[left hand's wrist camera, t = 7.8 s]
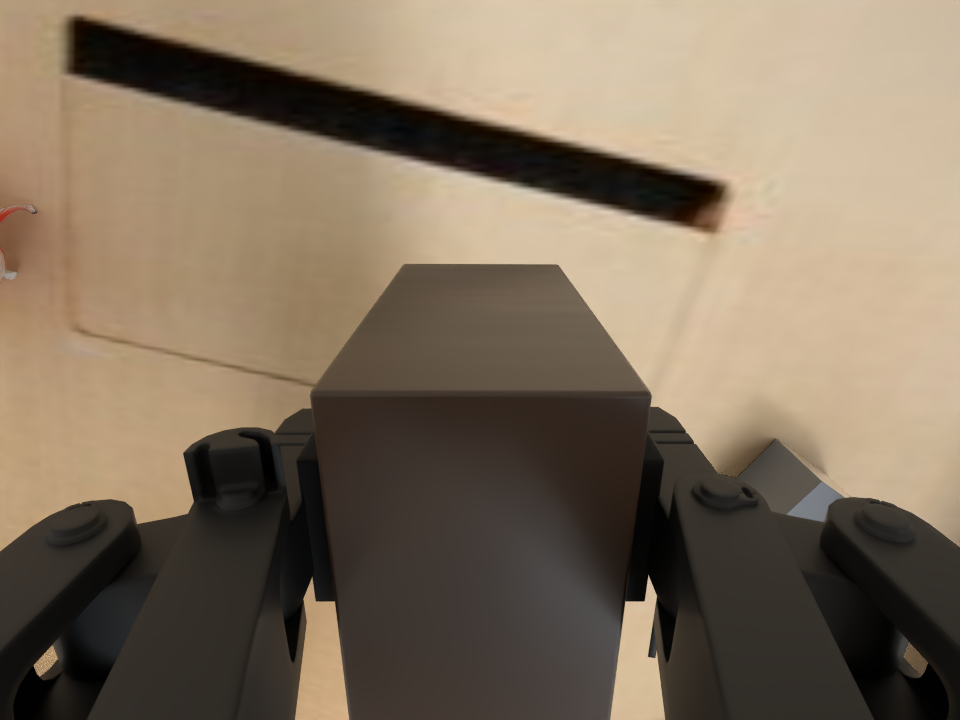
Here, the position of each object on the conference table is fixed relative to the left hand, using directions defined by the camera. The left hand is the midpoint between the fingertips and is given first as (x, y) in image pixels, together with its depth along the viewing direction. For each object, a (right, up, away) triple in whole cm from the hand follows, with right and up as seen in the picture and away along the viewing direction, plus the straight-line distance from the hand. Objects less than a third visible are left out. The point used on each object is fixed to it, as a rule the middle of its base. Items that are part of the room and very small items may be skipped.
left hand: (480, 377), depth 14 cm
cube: (+18, -7, +18) cm, 27 cm away
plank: (0, -9, +4) cm, 10 cm away
